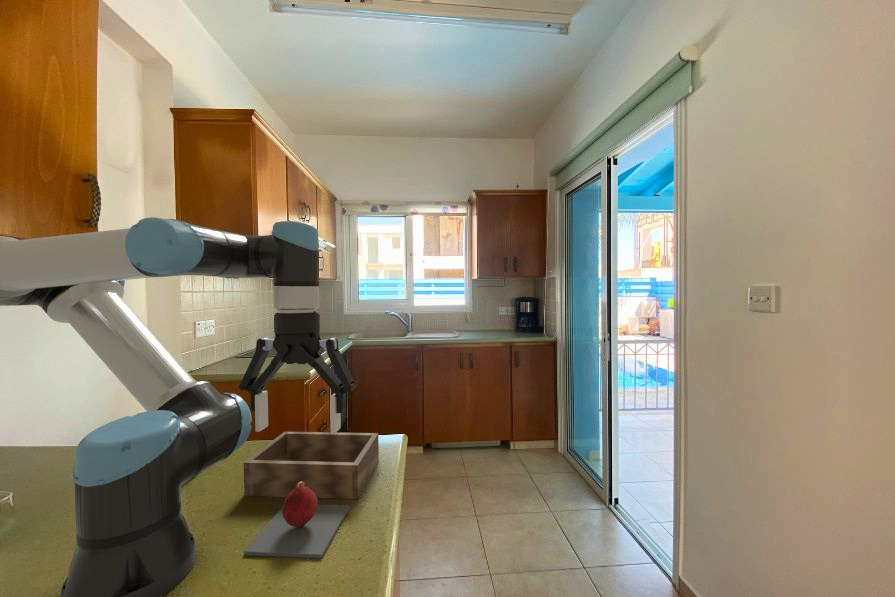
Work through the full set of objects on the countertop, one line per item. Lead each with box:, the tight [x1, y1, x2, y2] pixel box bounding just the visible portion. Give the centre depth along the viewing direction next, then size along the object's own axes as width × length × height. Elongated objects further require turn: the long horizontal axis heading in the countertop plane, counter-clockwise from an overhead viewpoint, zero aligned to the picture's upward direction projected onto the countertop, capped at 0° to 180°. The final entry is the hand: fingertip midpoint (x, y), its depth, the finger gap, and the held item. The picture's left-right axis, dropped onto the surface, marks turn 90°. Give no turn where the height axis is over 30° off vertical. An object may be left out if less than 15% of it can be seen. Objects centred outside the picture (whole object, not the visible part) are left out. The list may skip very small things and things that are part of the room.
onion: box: [282, 481, 318, 527], centre depth 64 cm, size 6×6×8 cm
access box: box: [243, 431, 380, 500], centre depth 82 cm, size 24×16×7 cm
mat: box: [243, 504, 350, 559], centre depth 64 cm, size 13×13×1 cm
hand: (298, 429), depth 64 cm, fingers open, 13 cm apart
